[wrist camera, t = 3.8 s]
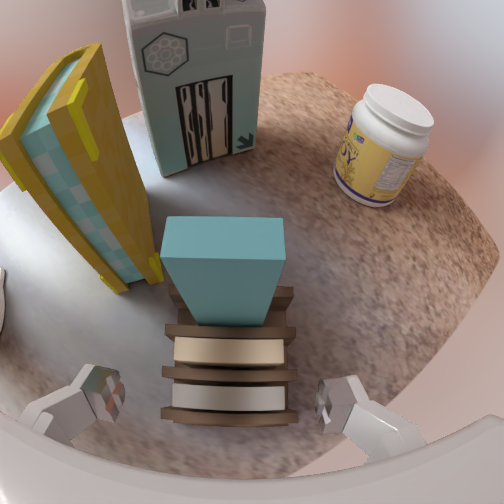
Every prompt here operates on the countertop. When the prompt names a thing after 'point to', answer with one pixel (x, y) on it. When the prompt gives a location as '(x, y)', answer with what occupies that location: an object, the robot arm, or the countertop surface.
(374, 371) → the countertop surface
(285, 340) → the rack
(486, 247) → the countertop surface
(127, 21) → the device
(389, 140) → the supplement tub
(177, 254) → the tall sheet
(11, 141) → the book
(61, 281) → the countertop surface
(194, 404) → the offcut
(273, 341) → the block
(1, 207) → the countertop surface
